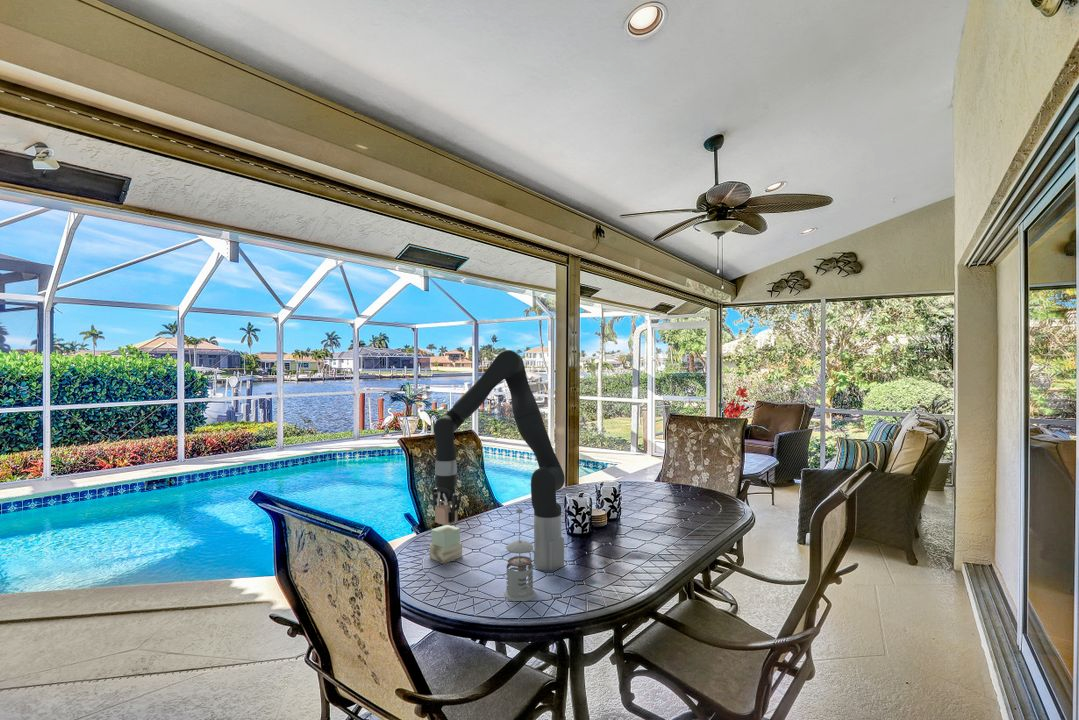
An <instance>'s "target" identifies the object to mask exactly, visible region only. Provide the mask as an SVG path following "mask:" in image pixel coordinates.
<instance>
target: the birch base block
mask: <svg viewBox="0 0 1079 720" xmlns="http://www.w3.org/2000/svg"><path fill="white" fill-rule="evenodd" d="M462 557H463V543H462V542H461V541H460V543H457V544H455V545H452V546H450V547H447V548H442V547H439V546H436V545H433V544H431V543H429V558H430V559H432V560H435V561H437V562H439V563H442V564H446V563H449V562H452V561H455V560H458V559H460V558H462Z"/></svg>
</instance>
